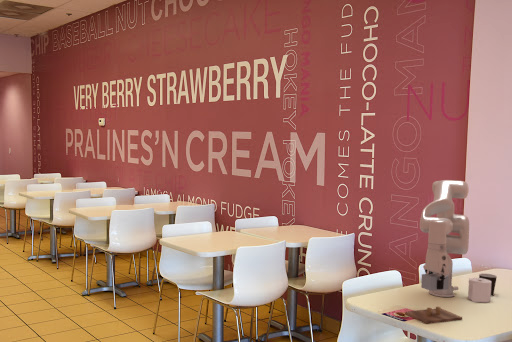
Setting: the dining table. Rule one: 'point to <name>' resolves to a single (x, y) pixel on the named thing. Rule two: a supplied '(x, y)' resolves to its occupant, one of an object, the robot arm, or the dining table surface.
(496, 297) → the dining table surface
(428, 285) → the block
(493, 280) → the coffee mug
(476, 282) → the toilet tissue
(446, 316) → the housing base
